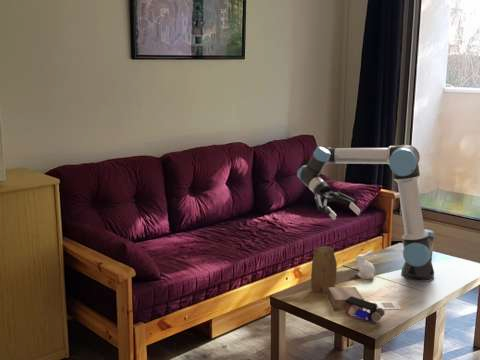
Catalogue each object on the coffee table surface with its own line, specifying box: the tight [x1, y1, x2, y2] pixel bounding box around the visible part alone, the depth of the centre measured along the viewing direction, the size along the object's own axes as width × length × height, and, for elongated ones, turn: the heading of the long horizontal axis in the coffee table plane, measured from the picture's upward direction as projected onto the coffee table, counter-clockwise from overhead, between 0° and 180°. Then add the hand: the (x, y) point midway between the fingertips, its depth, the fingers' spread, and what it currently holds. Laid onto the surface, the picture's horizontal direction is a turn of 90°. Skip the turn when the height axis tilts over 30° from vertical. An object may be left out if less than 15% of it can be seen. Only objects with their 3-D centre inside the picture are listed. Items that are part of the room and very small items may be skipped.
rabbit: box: [355, 249, 376, 280], centre depth 278 cm, size 12×9×12 cm
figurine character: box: [344, 296, 386, 325], centre depth 234 cm, size 7×8×15 cm
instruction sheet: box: [365, 300, 402, 311], centre depth 247 cm, size 15×8×1 cm, turn 94°
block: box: [310, 245, 338, 294], centre depth 260 cm, size 11×8×20 cm
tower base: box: [327, 286, 364, 312], centre depth 247 cm, size 12×13×5 cm
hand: (347, 215), depth 259 cm, fingers open, 13 cm apart
